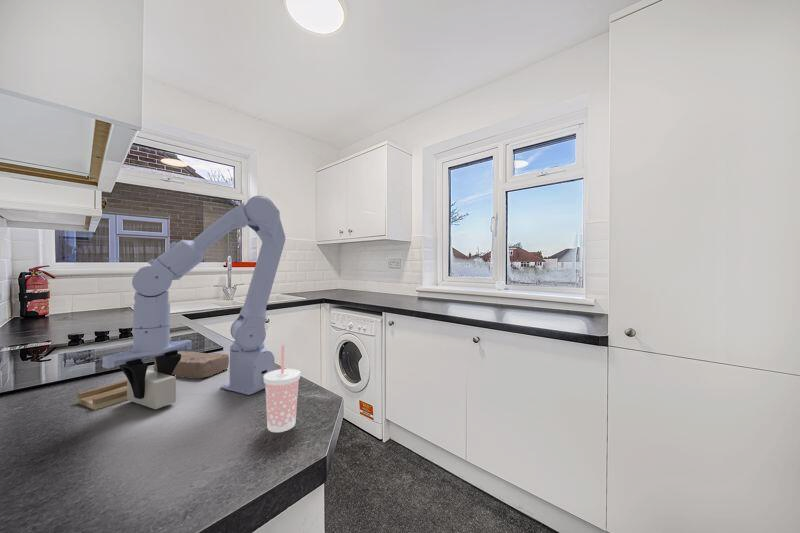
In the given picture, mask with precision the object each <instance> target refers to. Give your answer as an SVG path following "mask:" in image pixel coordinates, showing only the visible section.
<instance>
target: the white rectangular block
mask: <svg viewBox="0 0 800 533" xmlns="http://www.w3.org/2000/svg"><path fill="white" fill-rule="evenodd" d="M126 380H127V400H126V401H130V402H133V403H136V404H139V405H141V406H145V407H147V408H150V409H153V410H157V409H160V408H162V407H166V406H168V405H171V404H174V403H176V401H177V400H176V394H177V393H176V392H177V377H176V376H170V375H166V374H162V373H158V372H155V371H154V370H150V369H147V371H146V376H145V393H144V398H142V399H138V398H135V397H134V394H133V390H132V387H131V385H130V382H129V380H128V378H127V377H126Z"/></svg>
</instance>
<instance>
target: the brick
mask: <svg viewBox="0 0 800 533" xmlns="http://www.w3.org/2000/svg"><path fill="white" fill-rule="evenodd" d="M178 354H181V359H180V361H179V362H178V364H177V366H176V367H175V369H174V371H173V373H172V375H176V376H184V377H183V378H185V377H191V378H190V379H203V378H207V377H212V376H214V374H215V375H217V374H220V373H222V372H224V371H226V369H227V368H229V366H230V355H229V354H228V353H227V354H226V353H219V352H218V353H215V352H212V353H207V352H199V351H190V350H187V351H186V350H183V351H179V352H178ZM153 362H154V365H153V371H155V372H157V364H156V360H155V359H154V361H153ZM223 370H224V371H223ZM227 370H228V369H227ZM221 371H222V372H221ZM219 372H220V373H219ZM216 373H217V374H216ZM176 376H175V377H176Z"/></svg>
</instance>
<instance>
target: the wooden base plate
mask: <svg viewBox="0 0 800 533" xmlns="http://www.w3.org/2000/svg"><path fill="white" fill-rule="evenodd" d="M125 401H128V400H127V379H126V380H122V381H118V382H114V383H111V384H110V383H109V384H107V385H103V386H100V387H96V388H91V389H89V390H85V391H81V392H77V404H79V405H81V406H84V407H87V408H88V409H91V410H94V411H96V410H100V409H102V408H106V407H109V406H112V405H114V404H115V405H116V404H119V403H122V402H125Z"/></svg>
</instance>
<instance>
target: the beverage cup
mask: <svg viewBox="0 0 800 533" xmlns="http://www.w3.org/2000/svg"><path fill="white" fill-rule="evenodd" d="M280 352H281V353H280V355H281V356H280V368H279V369H274V371H270V372H268V373H266V374H265V375H264V376H263V378H264V383H265V388H264V390H265V402H266V403H265V405H266V406H265V408H266V425H267V426H266V429H267V430H268V431H269V432H271V433H283V432H285V431H286V432H287V431H289V430H291V429H292V428H294V427H295V426H296V420H297V419H296V418H297V407H298V395H299V394H298V392H299V382H300V381H299V380H300V378H301V374H302V373H301V371H300V370H299V369H296V368H285V344H284V345H281V351H280Z"/></svg>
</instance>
